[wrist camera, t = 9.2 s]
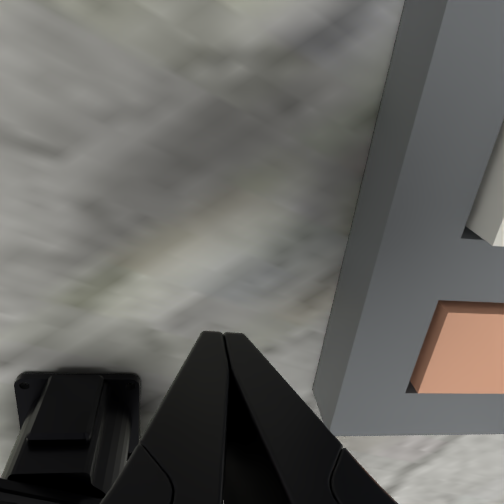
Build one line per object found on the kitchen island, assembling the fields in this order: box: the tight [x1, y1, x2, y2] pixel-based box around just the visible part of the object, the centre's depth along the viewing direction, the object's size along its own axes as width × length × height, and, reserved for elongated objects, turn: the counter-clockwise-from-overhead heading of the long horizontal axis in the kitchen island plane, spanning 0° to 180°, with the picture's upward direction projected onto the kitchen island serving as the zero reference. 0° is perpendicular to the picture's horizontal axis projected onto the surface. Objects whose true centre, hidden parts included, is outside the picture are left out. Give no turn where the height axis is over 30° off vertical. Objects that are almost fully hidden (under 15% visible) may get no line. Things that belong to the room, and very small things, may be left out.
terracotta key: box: [410, 300, 504, 394], centre depth 24 cm, size 5×5×3 cm
